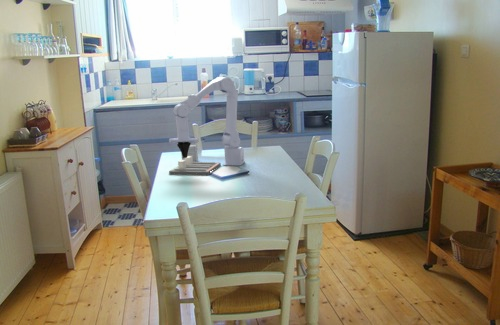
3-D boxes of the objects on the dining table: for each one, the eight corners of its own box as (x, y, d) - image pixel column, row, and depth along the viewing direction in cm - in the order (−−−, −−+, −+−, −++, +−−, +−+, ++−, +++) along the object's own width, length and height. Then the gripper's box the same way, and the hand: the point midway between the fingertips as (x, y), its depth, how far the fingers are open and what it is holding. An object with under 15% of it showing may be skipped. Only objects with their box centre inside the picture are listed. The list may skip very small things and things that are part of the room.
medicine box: (198, 160, 247) (197, 144, 245) (196, 162, 242) (195, 146, 240) (184, 160, 248) (182, 145, 246) (182, 162, 243) (180, 146, 241)
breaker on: (192, 163, 233) (192, 156, 232) (189, 165, 229) (189, 157, 228) (188, 163, 233) (187, 155, 232) (185, 165, 230) (184, 157, 229)
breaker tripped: (186, 167, 225) (185, 159, 224) (183, 169, 221) (182, 161, 221) (182, 167, 226) (181, 159, 225) (178, 169, 222) (178, 161, 221)
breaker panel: (220, 165, 232) (220, 161, 232) (208, 175, 215) (207, 170, 215) (184, 165, 238) (183, 160, 237) (169, 174, 221) (168, 169, 220)
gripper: (165, 131, 217) (168, 159, 220) (193, 131, 213) (196, 159, 216) (171, 128, 223) (174, 155, 227) (199, 128, 219) (201, 155, 223)
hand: (185, 157), depth 222 cm, fingers closed
